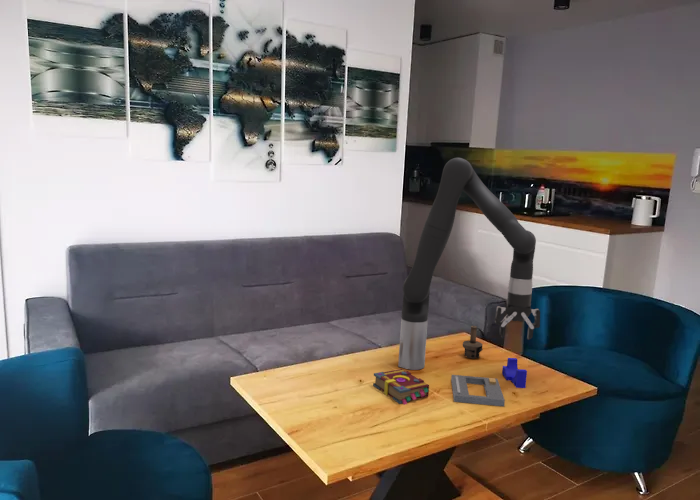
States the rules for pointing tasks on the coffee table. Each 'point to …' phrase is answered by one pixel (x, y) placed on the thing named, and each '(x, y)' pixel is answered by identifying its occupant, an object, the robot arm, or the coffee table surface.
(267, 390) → the coffee table surface
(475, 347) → the industrial component
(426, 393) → the decorative book
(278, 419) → the coffee table surface
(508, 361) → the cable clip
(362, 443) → the coffee table surface
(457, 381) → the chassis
